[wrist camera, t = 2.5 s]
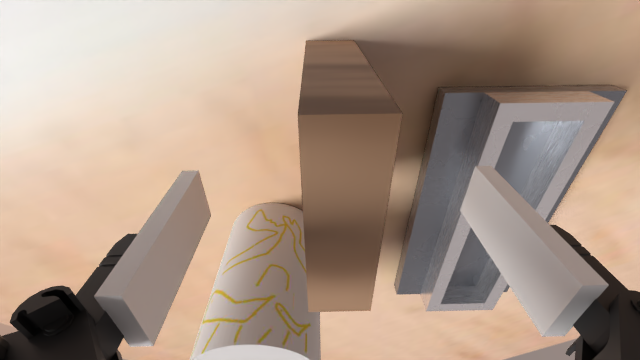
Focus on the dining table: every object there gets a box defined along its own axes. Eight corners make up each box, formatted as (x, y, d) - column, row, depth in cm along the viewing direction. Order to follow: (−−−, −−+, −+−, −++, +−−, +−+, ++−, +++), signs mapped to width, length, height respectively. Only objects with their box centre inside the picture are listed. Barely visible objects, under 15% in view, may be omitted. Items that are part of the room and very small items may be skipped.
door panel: (304, 40, 18) (294, 114, 8) (355, 40, 18) (405, 113, 8) (309, 174, 24) (306, 312, 14) (347, 173, 24) (372, 310, 14)
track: (438, 87, 20) (458, 103, 17) (611, 85, 20) (656, 101, 17) (394, 284, 32) (401, 311, 30) (500, 282, 33) (517, 309, 30)
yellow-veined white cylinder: (320, 204, 26) (325, 345, 16) (315, 264, 30) (317, 402, 20) (227, 201, 25) (173, 343, 15) (236, 262, 30) (199, 402, 20)
